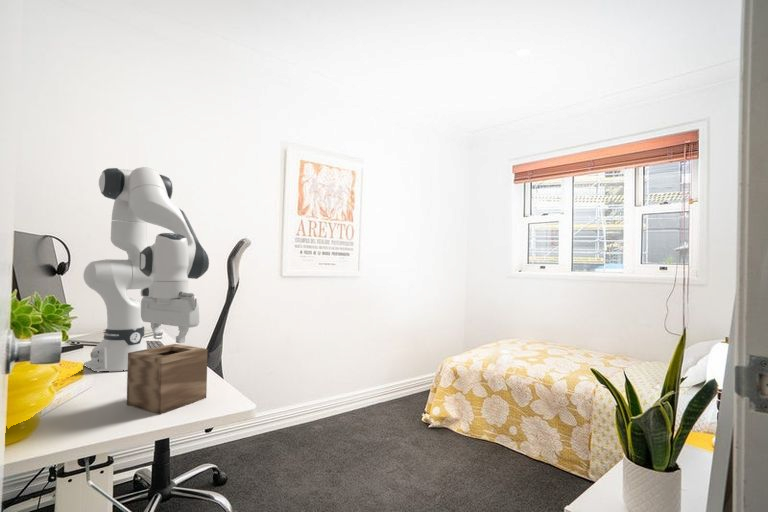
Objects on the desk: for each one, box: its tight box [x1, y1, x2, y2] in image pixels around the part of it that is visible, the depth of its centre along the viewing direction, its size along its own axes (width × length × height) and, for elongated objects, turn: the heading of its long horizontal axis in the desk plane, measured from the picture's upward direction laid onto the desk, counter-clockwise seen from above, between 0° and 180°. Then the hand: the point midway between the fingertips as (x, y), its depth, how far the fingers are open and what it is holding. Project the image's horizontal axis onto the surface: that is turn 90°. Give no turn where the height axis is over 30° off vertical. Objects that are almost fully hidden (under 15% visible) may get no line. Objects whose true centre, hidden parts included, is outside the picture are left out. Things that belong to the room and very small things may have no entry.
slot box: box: [126, 343, 209, 415], centre depth 112 cm, size 14×14×14 cm
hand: (168, 340), depth 112 cm, fingers open, 8 cm apart
